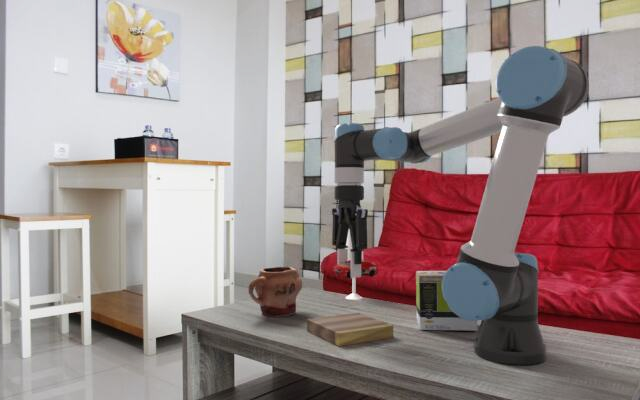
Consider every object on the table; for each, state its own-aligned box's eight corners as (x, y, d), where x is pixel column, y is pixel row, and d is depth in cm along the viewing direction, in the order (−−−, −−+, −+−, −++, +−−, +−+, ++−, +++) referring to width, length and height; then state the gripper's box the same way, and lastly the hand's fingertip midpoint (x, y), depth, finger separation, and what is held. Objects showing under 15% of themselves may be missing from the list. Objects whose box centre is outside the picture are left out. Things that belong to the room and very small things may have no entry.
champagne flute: (354, 301, 173) (354, 230, 173) (340, 298, 178) (340, 229, 178) (367, 298, 177) (367, 229, 177) (353, 295, 182) (353, 228, 182)
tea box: (470, 323, 143) (470, 270, 143) (477, 332, 133) (477, 275, 133) (415, 321, 145) (415, 269, 145) (419, 330, 135) (419, 274, 135)
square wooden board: (393, 337, 128) (393, 325, 128) (338, 346, 120) (338, 333, 120) (358, 323, 142) (358, 312, 142) (307, 330, 134) (307, 319, 134)
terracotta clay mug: (267, 325, 141) (267, 274, 140) (236, 318, 148) (236, 270, 148) (312, 312, 156) (312, 266, 156) (282, 306, 164) (282, 263, 164)
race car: (341, 279, 127) (344, 263, 126) (328, 273, 131) (330, 258, 130) (380, 276, 134) (383, 262, 134) (367, 271, 139) (369, 257, 138)
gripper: (382, 184, 125) (382, 279, 125) (342, 185, 141) (342, 269, 141) (356, 183, 121) (356, 281, 121) (318, 185, 137) (318, 271, 137)
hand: (349, 275), depth 131 cm, fingers closed on race car, 6 cm apart
